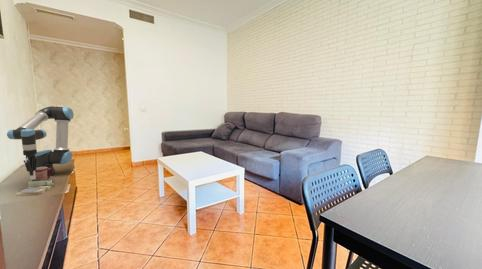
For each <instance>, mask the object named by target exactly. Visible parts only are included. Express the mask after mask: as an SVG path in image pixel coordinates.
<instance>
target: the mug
mask: <svg viewBox="0 0 482 269" xmlns="http://www.w3.org/2000/svg"><path fill="white" fill-rule="evenodd" d="M49 169H50V170H51V173H50V175H49V176H47V172H48V170H49ZM52 172H53V170H52V169H51V168H48V169H47V167H38V168H37V170H35V176H36V179H39V180H40V181H45V180H49V179H50V178H51V175H52ZM52 176H53V175H52Z"/></svg>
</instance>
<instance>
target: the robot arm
mask: <svg viewBox="0 0 482 269" xmlns="http://www.w3.org/2000/svg"><path fill="white" fill-rule="evenodd" d="M74 116H75V114H74V111H73V109H72V108H71V107H70V106H46V107H43V108H41V109H40V110H38V111H36V112H35V114H34V116H32V117H31V118H29V119H28V120H26V121H25V122H24V123H22V124H21V125H20V126H19V127H18V128H16V129H10V130H7V133H6V136H7V138H8V139H10V140H21V144H22V145H21V147H22V155H23V156H25V160H23V163H24V165H25V169H26V172H28V173H29V180H34V179H36V176H35V170H37V168H38V167H47V169H48V168H51V169H52V170H53V172H52V175H51V176H54V175H56V174H57V171H56V168H55V167H54V165H65V164H69V163H70V162H71V160H72V158H73V152H72V151H70V148H68V147H69V146H68V143H69V142H68V141H69V140H68V139H69V123H70V122H71V120H72V119H73V118H74ZM53 119H54V122H56V128H55V129H56V132H55V148H54V149H53V150H52V149H44V150H39V151H38V150H37V148H38V147H37V140H42V139H44V138H46V137H47V132H46V131H45V130H44V129H41V128H40V129H36V128H37V127H38V126H39V125H41V124H42V123H44V122H45V121H48V120H53ZM50 173H51V170H50V169H49V170H48V172H47V177H48V176H49V175H50ZM51 176H50V177H51Z"/></svg>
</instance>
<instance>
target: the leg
mask: <svg viewBox="0 0 482 269" xmlns="http://www.w3.org/2000/svg"><path fill="white" fill-rule="evenodd" d="M52 184H53V180H52V179H50V178H49V179H48V180H45V181H28V182H27V187H30V186H41V185H52Z"/></svg>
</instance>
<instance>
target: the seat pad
mask: <svg viewBox="0 0 482 269" xmlns="http://www.w3.org/2000/svg"><path fill="white" fill-rule="evenodd" d="M40 189H41V188H40V187H31V188H28V187H26V188H24V189H21V190H20V191H19V192H21V193H30V192H34V191H38V190H40Z"/></svg>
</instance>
